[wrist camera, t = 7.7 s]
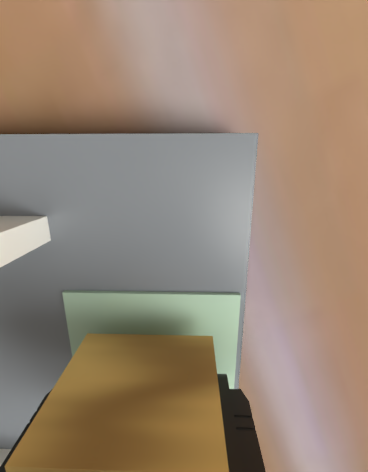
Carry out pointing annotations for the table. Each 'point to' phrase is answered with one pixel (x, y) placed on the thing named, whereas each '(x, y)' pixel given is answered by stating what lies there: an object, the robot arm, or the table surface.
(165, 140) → the walled pit deck
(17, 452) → the mustard block
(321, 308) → the table surface
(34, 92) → the table surface
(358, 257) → the table surface
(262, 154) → the table surface
